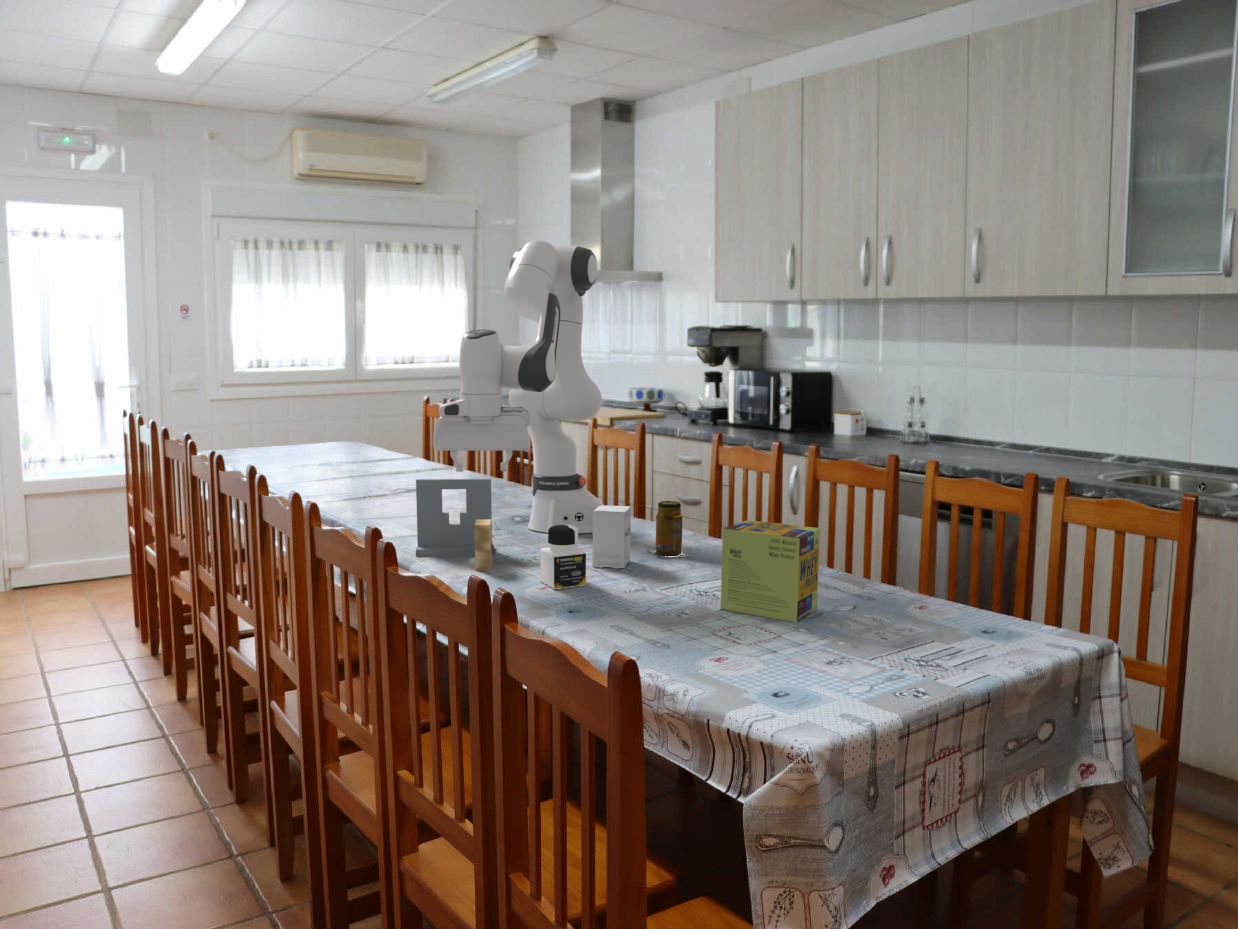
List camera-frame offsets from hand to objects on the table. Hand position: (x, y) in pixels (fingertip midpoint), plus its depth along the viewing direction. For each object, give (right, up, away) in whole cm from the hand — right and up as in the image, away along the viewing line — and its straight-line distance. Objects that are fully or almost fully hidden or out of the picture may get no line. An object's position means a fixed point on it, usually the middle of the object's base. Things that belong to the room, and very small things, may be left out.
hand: (481, 471), depth 209 cm
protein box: (+57, -26, -27) cm, 69 cm away
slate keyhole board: (-9, -19, +17) cm, 27 cm away
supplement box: (+28, -21, +6) cm, 35 cm away
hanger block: (0, -21, +5) cm, 21 cm away
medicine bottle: (+18, -23, -11) cm, 31 cm away
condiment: (+41, -20, +16) cm, 48 cm away
